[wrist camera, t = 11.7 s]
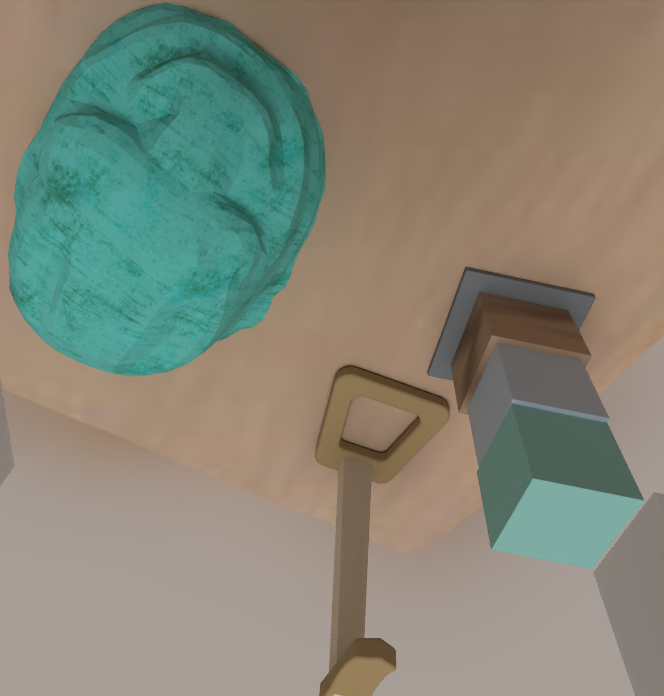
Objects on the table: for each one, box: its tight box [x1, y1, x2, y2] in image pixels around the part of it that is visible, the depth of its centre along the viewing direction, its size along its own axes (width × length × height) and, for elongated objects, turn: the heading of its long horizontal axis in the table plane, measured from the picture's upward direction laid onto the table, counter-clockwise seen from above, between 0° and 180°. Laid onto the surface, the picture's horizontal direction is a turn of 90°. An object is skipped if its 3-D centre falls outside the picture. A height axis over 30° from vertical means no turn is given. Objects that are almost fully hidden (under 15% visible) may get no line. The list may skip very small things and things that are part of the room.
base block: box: [451, 292, 591, 414], centre depth 44 cm, size 7×7×6 cm
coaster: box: [428, 267, 596, 380], centre depth 47 cm, size 10×10×1 cm
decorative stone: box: [8, 3, 326, 376], centre depth 39 cm, size 21×27×10 cm
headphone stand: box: [315, 367, 450, 696], centre depth 44 cm, size 10×11×22 cm
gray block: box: [468, 343, 609, 467], centre depth 39 cm, size 6×6×6 cm
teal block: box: [477, 403, 644, 569], centre depth 34 cm, size 6×6×6 cm
